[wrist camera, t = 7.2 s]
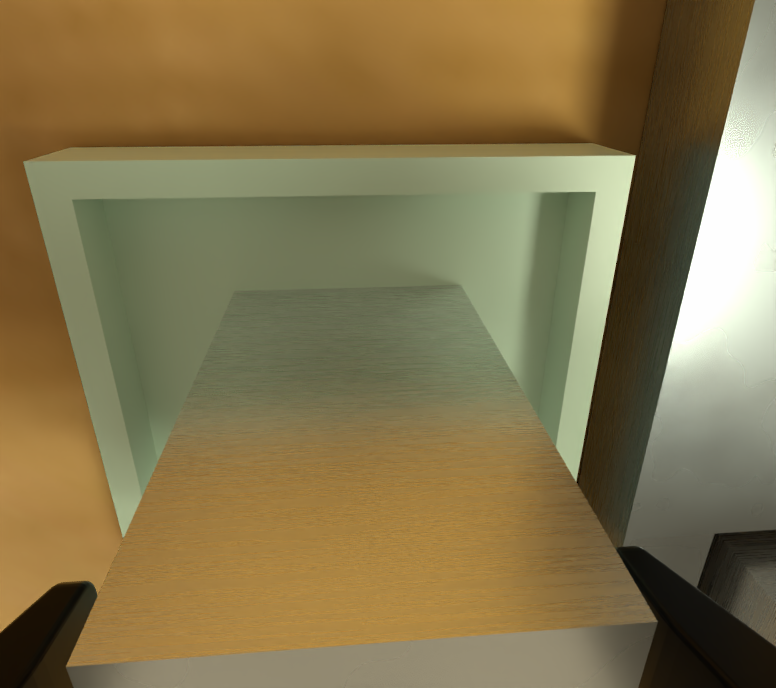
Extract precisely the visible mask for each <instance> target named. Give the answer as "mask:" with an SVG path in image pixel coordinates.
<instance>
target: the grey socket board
mask: <svg viewBox="0 0 776 688" xmlns="http://www.w3.org/2000/svg"><path fill="white" fill-rule="evenodd" d="M578 486H579V488H580V489H581V491H582V493H583V495H584V496H585V498H586V500H587V501H588V503H589V505H590V507H591V508H592V510H593V512H594V513H595V515H596V517H597V519H598V520H599V522H600V524H601V525H602V527H603V529H604V531H605V532H606V534H607V536H608V537H609V539H610V541H611V543H612V544H613V546H614V547H625V546H638V547H641V548H643V549H645V550H646V551H648V552H649V553H650V554H652V555H653V556H654V557H656V558H657V559H658V560H660V561H661V562H662V563H664V564H665V565H666V566H668V567H669V568H671V569H672V570H673V571H675V572H676V573H677V574H679V575H680V576H681V577H683V578H684V579H685V580H687V581H688V582H689V583H691V584H692V585H693V586H695V587H696V588H697V585H698V582H699V579H700V576H701V573H702V570H703V567H704V564H705V561H706V558H707V555H708V552H709V549H710V546H711V543H712V540H713V537H714V534H716V533H732V532H748V531H764V530H776V0H668V1H667V7H666V12H665V17H664V23H663V28H662V34H661V39H660V45H659V50H658V55H657V61H656V66H655V72H654V77H653V82H652V88H651V93H650V99H649V104H648V109H647V115H646V120H645V126H644V131H643V137H642V142H641V147H640V153H639V158H638V164H637V169H636V174H635V180H634V185H633V191H632V196H631V201H630V207H629V212H628V218H627V223H626V229H625V234H624V239H623V245H622V250H621V256H620V261H619V266H618V272H617V277H616V283H615V288H614V294H613V299H612V304H611V310H610V315H609V321H608V326H607V331H606V337H605V342H604V348H603V353H602V358H601V364H600V369H599V375H598V380H597V386H596V391H595V396H594V402H593V407H592V413H591V418H590V423H589V429H588V434H587V440H586V445H585V450H584V456H583V461H582V467H581V472H580V478H579V483H578Z"/></svg>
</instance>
